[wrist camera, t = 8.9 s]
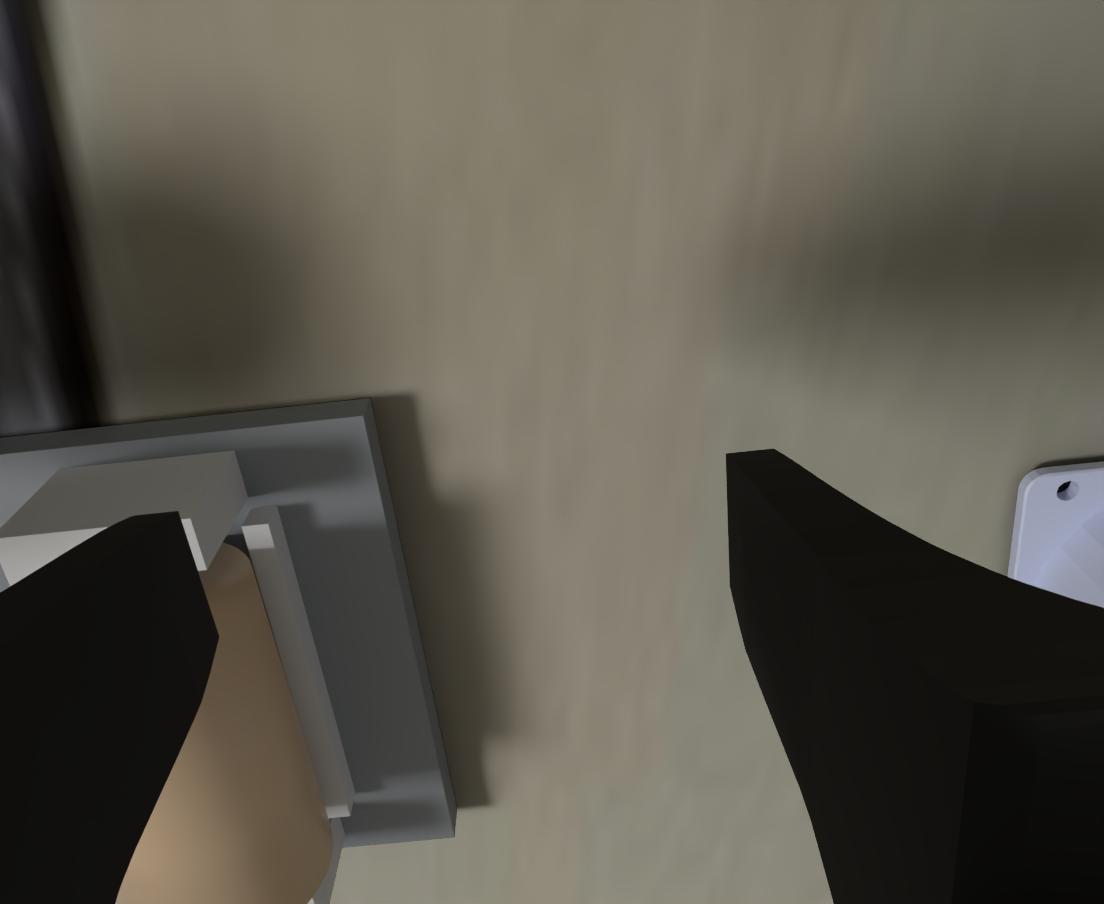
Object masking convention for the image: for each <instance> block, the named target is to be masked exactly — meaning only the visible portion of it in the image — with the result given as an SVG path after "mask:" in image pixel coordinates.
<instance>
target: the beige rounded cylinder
mask: <svg viewBox="0 0 1104 904" xmlns="http://www.w3.org/2000/svg"><path fill="white" fill-rule="evenodd" d="M198 573H199V576H200V579H201V582H202V585H203V588H204V591H205V594H206V597H207V600H208V603H209V606H210V609H211V612H212V615H213V619H214V622H215V625H216V628H217V631H218V634H219V641H218V645H217V649H216V653H215V656H214V660H213V664H212V668H211V672H210V676H209V679H208V682H207V686H206V689H205V692H204V696H203V699H202V702H201V705H200V707H199V709H198V712H197V714H196V717H195V719H194V721H193V723H192V726H191V728H190V730H189V732H188V735H187V737H186V739H185V741H184V744H183V746H182V748H181V751H180V753H179V755H178V757H177V759H176V762H175V764H174V766H173V768H172V770H171V773H170V775H169V777H168V779H167V781H166V783H165V786H164V788H163V790H162V792H161V794H160V797H159V799H158V801H157V803H156V805H155V808H154V810H153V812H152V814H151V816H150V819H149V821H148V823H147V825H146V827H145V829H144V832H143V834H142V836H141V838H140V840H139V843H138V845H137V847H136V849H135V852H134V854H133V857H132V859H131V862H130V864H129V867H128V869H127V872H126V874H125V877H124V879H123V882H122V884H121V887H120V890H119V893H118V896H117V899H116V902H117V904H308V902H309V901H310V900H311V899H312V897H313V896H314V895H315V893H316V892H317V890H318V888H319V887H320V885H321V884H322V882H323V880H324V878H325V876H326V873H327V871H328V868H329V865H330V862H331V859H332V853H333V834H332V828H331V825H330V822H329V818H328V815H327V812H326V809H325V805H324V802H323V799H322V795H321V792H320V789H319V785H318V782H317V779H316V776H315V772H314V769H313V766H312V762H311V759H310V756H309V753H308V749H307V746H306V743H305V739H304V736H303V733H302V729H301V726H300V723H299V720H298V716H297V713H296V710H295V706H294V703H293V700H292V696H291V693H290V690H289V687H288V683H287V680H286V677H285V673H284V670H283V667H282V663H281V660H280V657H279V654H278V650H277V647H276V644H275V640H274V637H273V634H272V630H271V627H270V624H269V621H268V617H267V614H266V611H265V607H264V604H263V601H262V597H261V594H260V591H259V588H258V584H257V581H256V578H255V574H254V571H253V568H252V565H251V562H250V560H249V559H248V557H247V556H246V555H245V554H244V553H243V552H242V551H241V550H239V549H238V548H236V547H234V546H232V545H229V544H226V543H223V542H222V544H221V546H220V548H219V550H218V551H217V553H216V555H215V557H214V558H213V560H212V562H211V564H210V566H209V567H208V569H207V570H203V571H198Z"/></svg>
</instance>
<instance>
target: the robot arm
mask: <svg viewBox="0 0 1104 904" xmlns="http://www.w3.org/2000/svg"><path fill="white" fill-rule="evenodd" d="M726 472H727V504H728V537H729V570H730V588H731V592H732V597H733V601H734V605H735V609H736V614H737V618H738V622H739V626H740V630H741V634H742V638H743V642H744V646H745V649H746V652H747V655H748V657H749V660H750V663H751V665H752V668H753V670H754V673H755V676H756V678H757V681H758V683H759V686H760V688H761V691H762V694H763V696H764V699H765V701H766V704H767V706H768V709H769V711H770V714H771V716H772V719H773V721H774V724H775V726H776V729H777V731H778V734H779V736H780V739H781V741H782V744H783V747H784V749H785V752H786V754H787V757H788V759H789V762H790V764H791V767H792V769H793V772H794V774H795V777H796V779H797V782H798V784H799V787H800V790H801V793H802V796H803V798H804V801H805V804H806V807H807V810H808V813H809V816H810V819H811V822H812V826H813V829H814V833H815V837H816V840H817V844H818V847H819V851H820V855H821V858H822V862H823V866H824V869H825V873H826V877H827V880H828V884H829V887H830V891H831V895H832V899H833V902H834V904H1104V461H1103V462H1093V463H1083V464H1073V465H1064V466H1054V467H1044V468H1039V469H1036V470H1033V471H1031V472H1030V473H1028V474H1027V475H1026V476H1025V477H1024V478H1023V479H1022V481H1021V483H1020V486H1019V489H1018V497H1017V505H1016V513H1015V521H1014V529H1013V537H1012V545H1011V553H1010V561H1009V569H1008V577H1007V576H1004V575H1001V574H999V573H996V572H994V571H991V570H989V569H987V568H984V567H982V566H979V565H977V564H975V563H972V562H970V561H968V560H965V559H963V558H961V557H958V556H956V555H954V554H951V553H949V552H947V551H945V550H943V549H941V548H938V547H936V546H934V545H932V544H930V543H928V542H926V541H924V540H922V539H920V538H918V537H917V536H915V535H913V534H911V533H909V532H907V531H905V530H904V529H902V528H900V527H898V526H896V525H894V524H892V523H890V522H889V521H887V520H885V519H883V518H882V517H880V516H878V515H877V514H875V513H873V512H871V511H870V510H868V509H866V508H865V507H863V506H861V505H860V504H858V503H857V502H855V501H853V500H852V499H850V498H849V497H847V496H845V495H844V494H842V493H841V492H839V491H838V490H836V489H835V488H833V487H832V486H830V485H828V484H827V483H825V482H824V481H822V480H821V479H819V478H818V477H816V476H815V475H814V474H812V473H811V472H809V471H808V470H806V469H805V468H803V467H802V466H800V465H799V464H797V463H796V462H794V461H793V460H791V459H790V458H788V457H787V456H785V455H783V454H782V453H780V452H778V451H777V450H775V449H766V450H756V451H747V452H737V453H728V454H726ZM1068 481H1071V483H1070V485H1069V487H1068V488H1067V489H1066V490H1065V491H1062V492H1059V493H1057V490H1058V488H1059V486H1061V485H1062V484H1063V483H1065V482H1068ZM218 641H219V634H218V631H217V628H216V625H215V622H214V619H213V615H212V612H211V609H210V606H209V603H208V600H207V597H206V594H205V591H204V588H203V585H202V582H201V579H200V576H199V573H198V570H197V567H196V564H195V561H194V557H193V554H192V551H191V548H190V545H189V542H188V539H187V536H186V533H185V530H184V527H183V524H182V521H181V518H180V515H179V512H178V511H172V512H163V513H153V514H143V515H134V516H131V517H129V518H126V519H124V520H122V521H120V522H118V523H116V524H114V525H112V526H110V527H108V528H106V529H104V530H102V531H101V532H99V533H97V534H95V535H94V536H92V537H90V538H88V539H87V540H85V541H83V542H82V543H80V544H78V545H77V546H75V547H73V548H72V549H70V550H68V551H67V552H65V553H64V554H62V555H60V556H59V557H57V558H55V559H54V560H52V561H51V562H49V563H47V564H46V565H44V566H42V567H41V568H39V569H38V570H36V571H34V572H33V573H31V574H29V575H28V576H26V577H25V578H23V579H21V580H20V581H18V582H17V583H15V584H13V585H12V586H10V587H8V588H7V589H5V590H4V591H2V592H0V904H115V902H116V899H117V896H118V893H119V890H120V887H121V884H122V882H123V879H124V877H125V874H126V872H127V869H128V867H129V864H130V862H131V859H132V857H133V854H134V852H135V849H136V847H137V845H138V843H139V840H140V838H141V836H142V834H143V832H144V829H145V827H146V825H147V823H148V821H149V819H150V816H151V814H152V812H153V810H154V808H155V805H156V803H157V801H158V799H159V797H160V794H161V792H162V790H163V788H164V786H165V783H166V781H167V779H168V777H169V775H170V773H171V770H172V768H173V766H174V764H175V762H176V759H177V757H178V755H179V753H180V751H181V748H182V746H183V744H184V741H185V739H186V737H187V735H188V732H189V730H190V728H191V726H192V723H193V721H194V719H195V717H196V714H197V712H198V709H199V707H200V705H201V702H202V699H203V696H204V692H205V689H206V686H207V682H208V679H209V676H210V672H211V668H212V664H213V660H214V656H215V653H216V649H217V645H218Z"/></svg>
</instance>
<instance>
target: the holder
mask: <svg viewBox="0 0 1104 904" xmlns="http://www.w3.org/2000/svg"><path fill="white" fill-rule="evenodd" d="M172 511H178V512H179V515H180V518H181V521H182V524H183V527H184V530H185V533H186V536H187V539H188V542H189V545H190V548H191V551H192V554H193V557H194V561H195V564H196V567H197V570H198V571H203V570H207V569H208V567H209V566H210V564H211V562H212V560H213V558H214V557H215V555H216V553H217V551H218V550H219V548H220V546H221V544H222V542H223V543H226V544H229V545H232V546H234V547H236V548H238V549H239V550H241V551H242V552H243V553H244V554H245V555H246V556H247V557H248V559H249V560H250V562H251V565H252V568H253V571H254V574H255V578H256V581H257V584H258V588H259V591H260V594H261V597H262V601H263V604H264V607H265V611H266V614H267V617H268V621H269V624H270V627H271V630H272V634H273V637H274V640H275V644H276V647H277V650H278V654H279V657H280V660H281V663H282V667H283V670H284V673H285V677H286V680H287V683H288V687H289V690H290V693H291V696H292V700H293V703H294V706H295V710H296V713H297V716H298V720H299V723H300V726H301V729H302V733H303V736H304V739H305V743H306V746H307V749H308V753H309V756H310V759H311V762H312V766H313V769H314V772H315V776H316V779H317V782H318V785H319V789H320V792H321V795H322V799H323V802H324V805H325V809H326V812H327V815H328V818H329V822H330V825H331V828H332V834H333V853H332V859H331V862H330V865H329V868H328V871H327V873H326V876H325V878H324V880H323V882H322V884H321V885H320V887H319V888H318V890H317V892H316V893H315V895H314V896H313V897H312V899H311V900H310V901H309V902H308V904H329V903H330V899H331V894H332V890H333V886H334V881H335V877H336V872H337V868H338V863H339V859H340V854H341V850H342V848H344V847H355V846H366V845H377V844H388V843H399V842H409V841H420V840H431V839H442V838H453V837H454V836H455V825H456V815H457V807H456V802H455V798H454V793H453V788H452V783H451V779H450V774H449V769H448V764H447V760H446V755H445V750H444V746H443V741H442V736H441V731H440V727H439V722H438V717H437V712H436V708H435V703H434V698H433V693H432V689H431V684H430V679H429V674H428V670H427V665H426V660H425V655H424V651H423V646H422V641H421V637H420V632H419V627H418V622H417V618H416V613H415V608H414V603H413V599H412V594H411V589H410V584H409V580H408V575H407V570H406V565H405V561H404V556H403V551H402V546H401V542H400V537H399V532H398V528H397V523H396V518H395V513H394V509H393V504H392V499H391V494H390V490H389V485H388V480H387V475H386V471H385V466H384V461H383V456H382V452H381V447H380V442H379V438H378V433H377V428H376V423H375V419H374V414H373V409H372V404H371V400H370V398H365V399H356V400H347V401H337V402H328V403H319V404H310V405H300V406H291V407H282V408H272V409H263V410H254V411H245V412H235V413H226V414H217V415H207V416H198V417H189V418H180V419H170V420H161V421H152V422H142V423H133V424H124V425H115V426H105V427H96V428H87V429H78V430H68V431H59V432H50V433H40V434H31V435H22V436H13V437H3V438H0V592H2V591H4V590H5V589H7V588H8V587H10V586H12V585H13V584H15V583H17V582H18V581H20V580H21V579H23V578H25V577H26V576H28V575H29V574H31V573H33V572H34V571H36V570H38V569H39V568H41V567H42V566H44V565H46V564H47V563H49V562H51V561H52V560H54V559H55V558H57V557H59V556H60V555H62V554H64V553H65V552H67V551H68V550H70V549H72V548H73V547H75V546H77V545H78V544H80V543H82V542H83V541H85V540H87V539H88V538H90V537H92V536H94V535H95V534H97V533H99V532H101V531H102V530H104V529H106V528H108V527H110V526H112V525H114V524H116V523H118V522H120V521H122V520H124V519H126V518H129V517H131V516H134V515H143V514H153V513H163V512H172Z"/></svg>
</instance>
